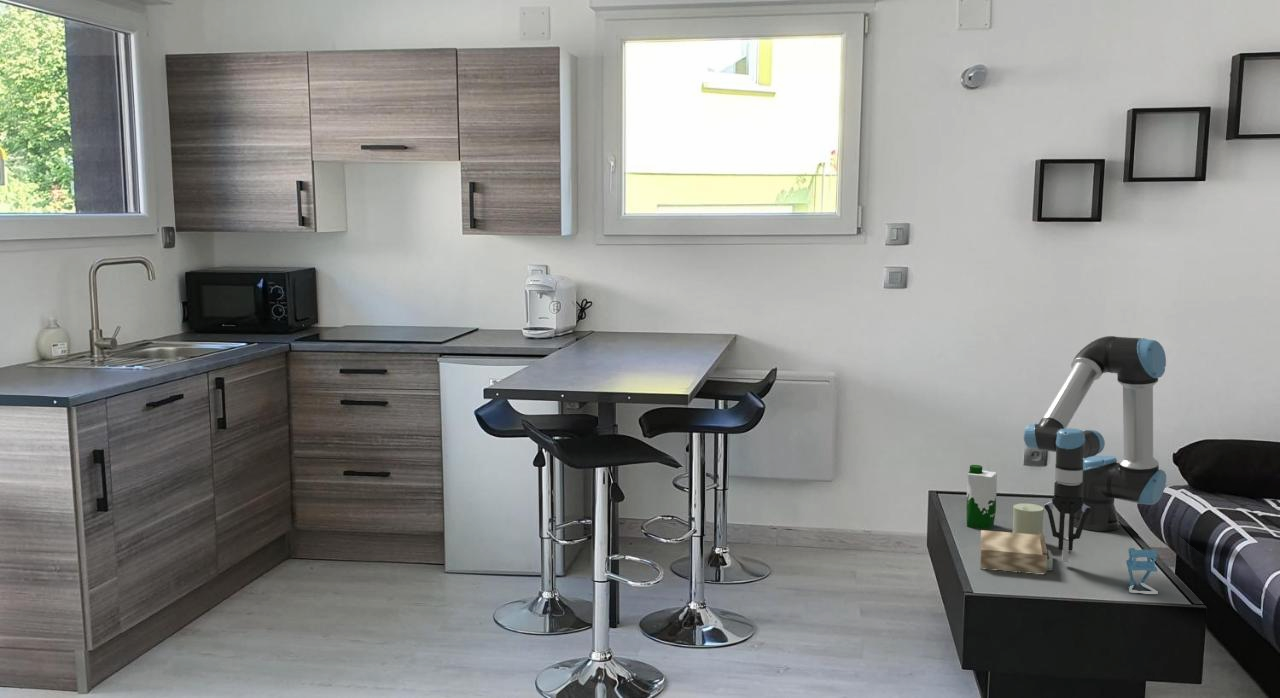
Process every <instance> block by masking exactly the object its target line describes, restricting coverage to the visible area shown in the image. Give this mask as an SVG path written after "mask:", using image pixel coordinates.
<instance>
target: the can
mask: <svg viewBox="0 0 1280 698" xmlns="http://www.w3.org/2000/svg"><path fill="white" fill-rule="evenodd" d="M1012 508H1013V510H1012V511H1013V513H1012V532H1011V533H1022V534H1034V535H1039V533H1043V532H1044V531H1043V530H1044V513H1045V511H1044V510H1045V507H1044V506H1041V505H1038V504H1034V503H1033V504H1032V503H1023V502H1022V503H1015V504H1014V505H1013V507H1012Z"/></svg>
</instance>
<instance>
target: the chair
mask: <svg viewBox="0 0 1280 698" xmlns="http://www.w3.org/2000/svg"><path fill="white" fill-rule="evenodd" d="M1157 552H1158V551H1156V550H1155V549H1153V548H1150V549H1135V548H1134V547H1130V548H1128V555H1129V556H1128V557H1129V558H1128V559H1126V562H1125V563H1126V567H1127V570H1128V571H1127V572H1128V576H1129V579H1130V583H1129V585H1130V586H1132V585H1134V586H1135V578H1134V573H1133V571H1146V572H1145V573H1144V576H1143V577H1142V579H1140V582H1141V583H1146V581H1147V579H1148V577H1149V576H1150V574H1151V572H1153V573H1157V572H1158V568H1157V567H1156V566H1155V562H1156V560H1157V558H1158V553H1157ZM1137 558H1146V560H1137ZM1151 559H1152V560H1151Z"/></svg>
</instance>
